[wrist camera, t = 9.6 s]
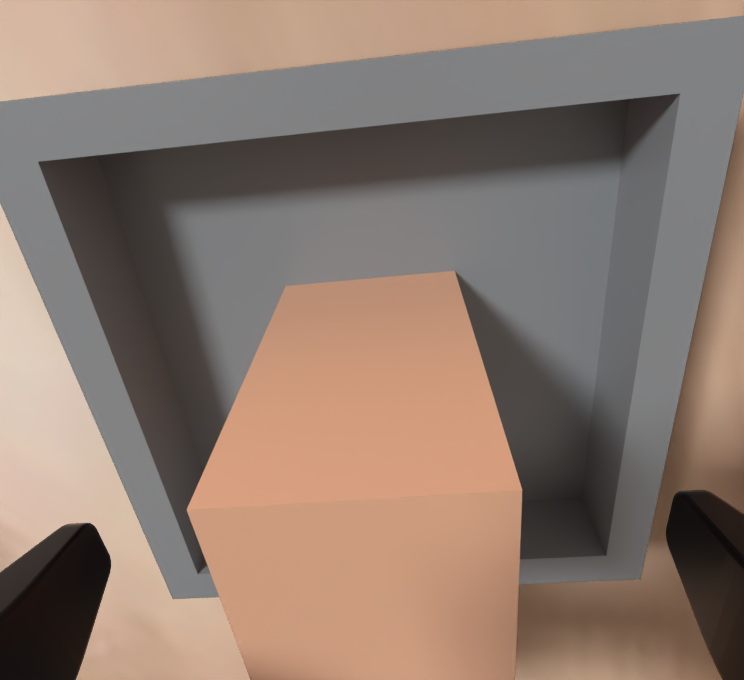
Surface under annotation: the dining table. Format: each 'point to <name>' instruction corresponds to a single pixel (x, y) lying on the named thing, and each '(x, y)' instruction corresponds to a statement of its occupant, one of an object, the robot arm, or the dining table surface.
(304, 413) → the block
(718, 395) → the dining table surface
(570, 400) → the tray
